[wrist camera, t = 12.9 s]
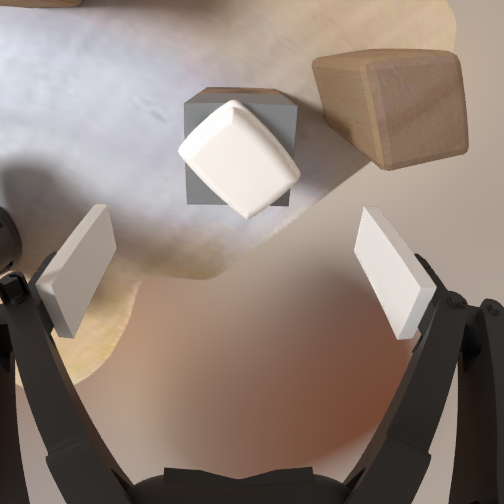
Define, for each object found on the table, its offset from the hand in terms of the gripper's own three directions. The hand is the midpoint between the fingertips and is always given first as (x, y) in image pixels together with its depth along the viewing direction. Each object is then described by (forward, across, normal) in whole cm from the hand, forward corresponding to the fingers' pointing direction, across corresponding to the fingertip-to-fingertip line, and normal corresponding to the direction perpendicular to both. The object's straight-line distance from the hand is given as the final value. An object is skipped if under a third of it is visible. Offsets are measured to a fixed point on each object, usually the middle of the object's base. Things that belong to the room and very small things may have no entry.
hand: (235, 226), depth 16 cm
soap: (+12, 0, 0) cm, 12 cm away
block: (+30, +16, +6) cm, 34 cm away
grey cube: (+21, 0, 0) cm, 21 cm away
